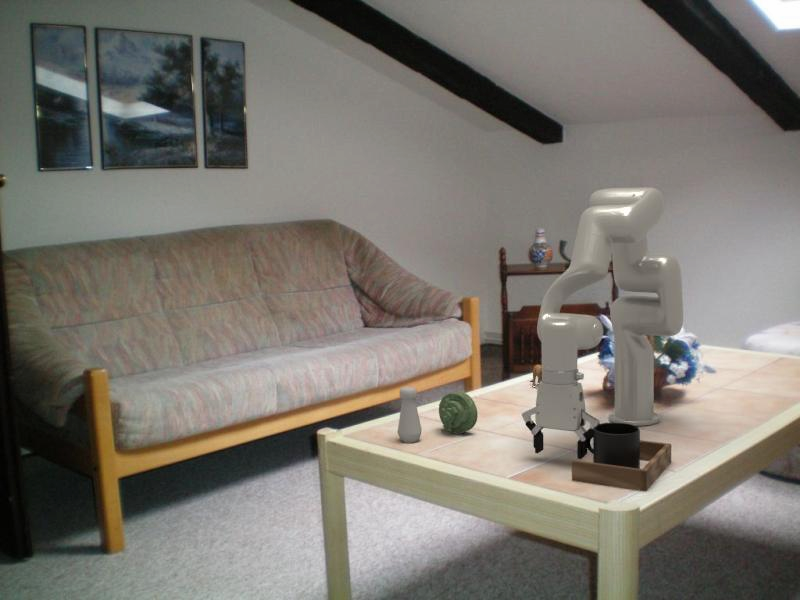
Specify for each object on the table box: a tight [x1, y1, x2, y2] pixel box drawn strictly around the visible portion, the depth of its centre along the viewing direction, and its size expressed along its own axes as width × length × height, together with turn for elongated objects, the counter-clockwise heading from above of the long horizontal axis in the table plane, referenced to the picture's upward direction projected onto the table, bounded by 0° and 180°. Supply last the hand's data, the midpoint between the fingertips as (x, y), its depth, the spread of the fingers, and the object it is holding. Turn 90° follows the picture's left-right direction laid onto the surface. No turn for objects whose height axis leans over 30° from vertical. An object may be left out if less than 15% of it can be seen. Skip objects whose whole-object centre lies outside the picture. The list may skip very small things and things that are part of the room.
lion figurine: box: [529, 364, 542, 386], centre depth 257 cm, size 15×5×9 cm, turn 22°
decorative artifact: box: [438, 391, 478, 435], centre depth 212 cm, size 10×7×10 cm
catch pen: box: [571, 439, 672, 492], centre depth 181 cm, size 20×15×4 cm
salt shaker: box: [397, 386, 423, 444], centre depth 208 cm, size 6×6×13 cm
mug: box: [587, 422, 641, 469], centre depth 182 cm, size 9×12×9 cm
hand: (560, 454), depth 188 cm, fingers open, 9 cm apart
